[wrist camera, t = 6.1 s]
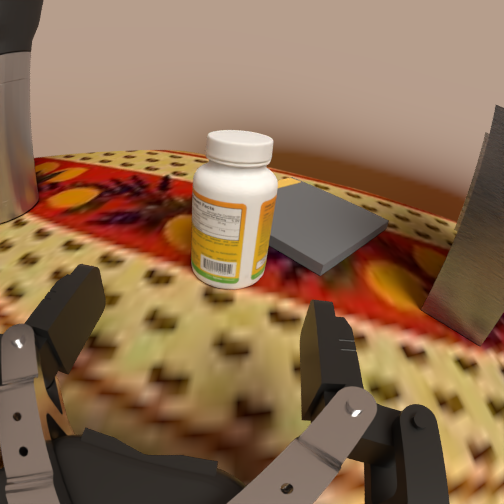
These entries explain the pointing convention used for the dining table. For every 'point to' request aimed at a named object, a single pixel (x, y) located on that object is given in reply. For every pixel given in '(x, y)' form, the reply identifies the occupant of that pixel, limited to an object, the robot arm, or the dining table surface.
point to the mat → (319, 225)
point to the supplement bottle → (233, 209)
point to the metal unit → (476, 249)
